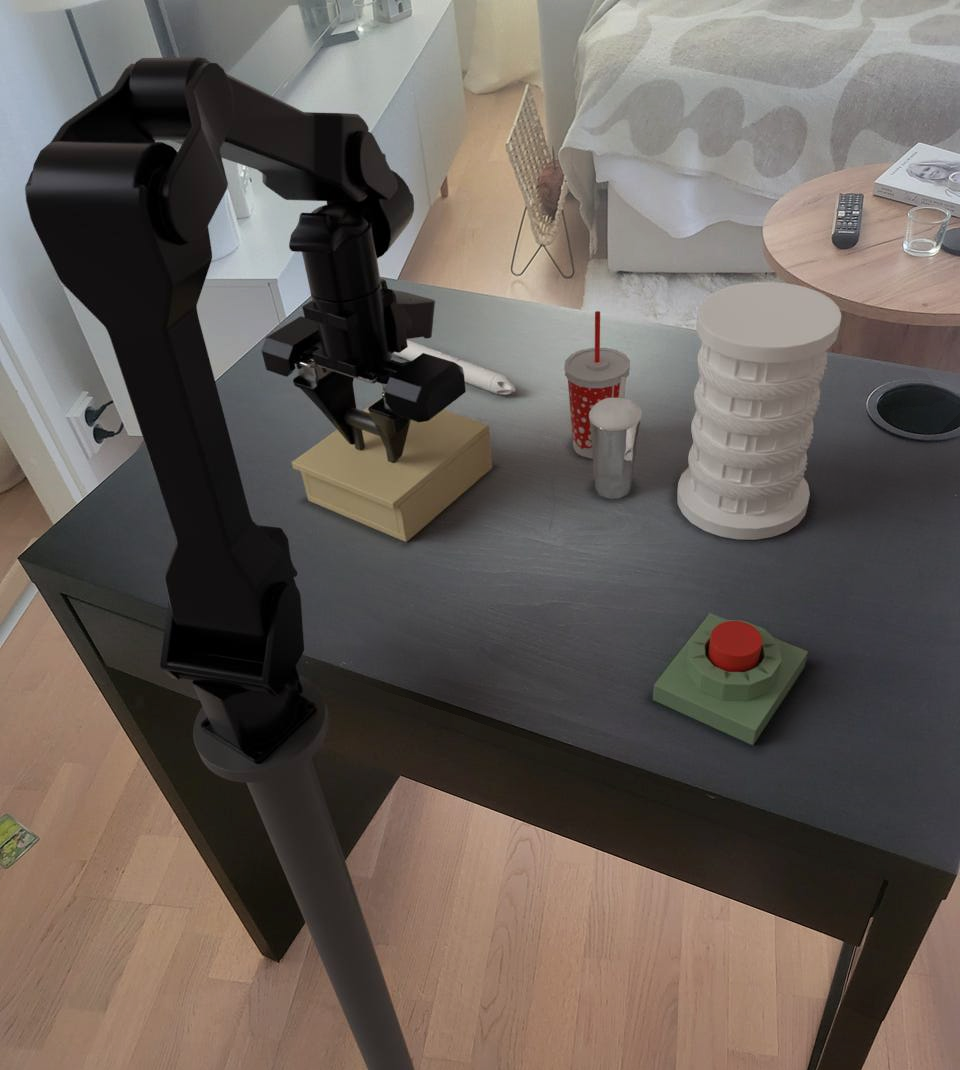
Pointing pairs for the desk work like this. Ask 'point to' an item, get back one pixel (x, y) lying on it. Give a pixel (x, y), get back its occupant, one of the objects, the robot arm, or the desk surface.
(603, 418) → the milkshake
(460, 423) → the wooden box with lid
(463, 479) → the tan wooden shallow box
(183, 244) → the robot arm
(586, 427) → the beverage cup
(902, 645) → the desk surface
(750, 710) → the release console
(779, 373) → the decorative container
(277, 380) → the desk surface
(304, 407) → the desk surface
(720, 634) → the release button
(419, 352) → the marker
